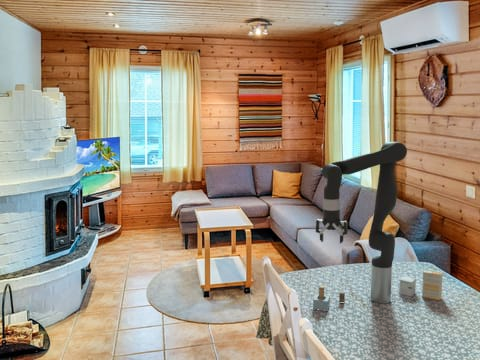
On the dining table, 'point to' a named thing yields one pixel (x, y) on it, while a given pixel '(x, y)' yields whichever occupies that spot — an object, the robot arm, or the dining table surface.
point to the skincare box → (407, 286)
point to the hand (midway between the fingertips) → (331, 242)
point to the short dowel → (341, 297)
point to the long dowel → (321, 292)
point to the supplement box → (432, 284)
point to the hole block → (321, 302)
